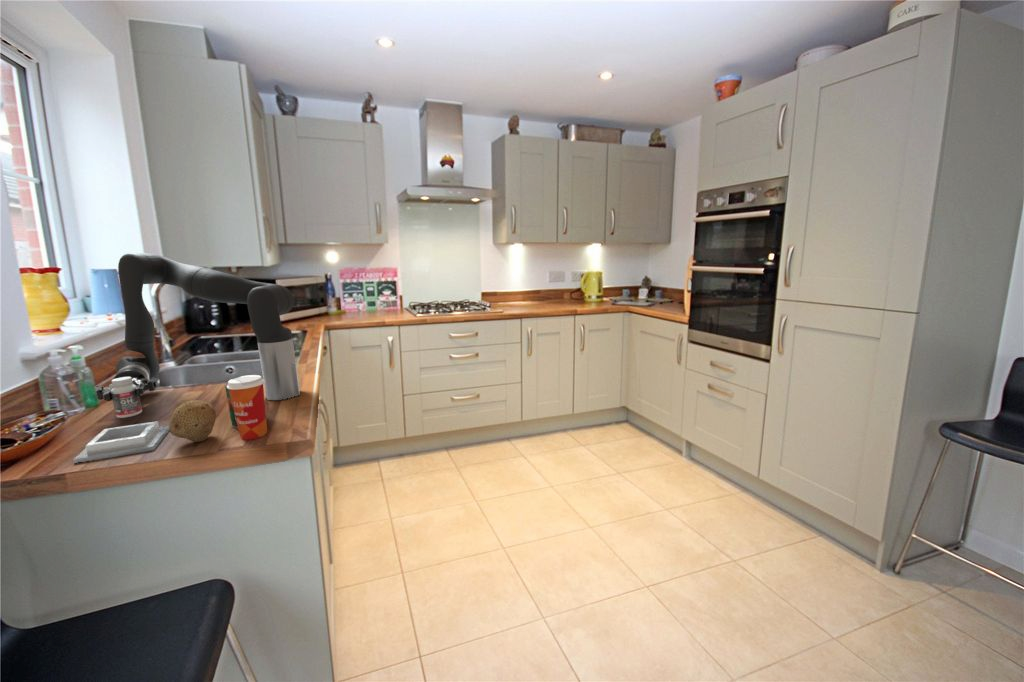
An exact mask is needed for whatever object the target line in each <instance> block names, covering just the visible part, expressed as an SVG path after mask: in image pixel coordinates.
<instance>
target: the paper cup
mask: <svg viewBox="0 0 1024 682" xmlns="http://www.w3.org/2000/svg"><path fill="white" fill-rule="evenodd" d="M227 382H228V386H227V388H228V389H229V392H230V397H231V401H232V405H233V409H234V413H235V417H236V422H237V426H238V428H237V429H238V433H239V436H240V439H241V440H244V441H245V440H246V441H249V440H256V439H260V438H262V437H264V436H266V435H267V434H266V433H268V428H267V427H268V425H267V419H266V418H267V415H266V414H267V413H266V404H265V403H266V402H265V388H264V380H263V376H262V375H258V374H249V375H241V376H239V377H235V378H231V379H229V380H228V381H227ZM265 434H266V435H265ZM263 435H264V436H263ZM261 436H262V437H261ZM259 437H260V438H259Z"/></svg>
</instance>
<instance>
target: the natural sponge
mask: <svg viewBox="0 0 1024 682" xmlns="http://www.w3.org/2000/svg"><path fill="white" fill-rule="evenodd" d="M216 416H217V415H216V410H215V408H214V407H213V405H211V404H210V403H208V402H206V401H204V400H199V399H198V400H197V399H196V400H187V401H185V402H183V403H182V404H180V405H178V406H177V407H176V408H175V410H174V411H173V413H172V415H171V417H170V420H169V424H168V425H169V432H170V434H171V435H172V436H173V437H176V438H181V439H185V440H189V441H190V442H195V443H200V442H203V441H205V440H206V439H207V438H208V437H209V436H211V434H212V431H213V429H214V427H215V422H216Z"/></svg>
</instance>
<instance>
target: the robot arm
mask: <svg viewBox="0 0 1024 682" xmlns="http://www.w3.org/2000/svg"><path fill="white" fill-rule="evenodd" d="M117 268H118V269H117V271H118V280H119V285H120V292H121V298H122V303H123V309H124V319H125V328H124V329H125V330H124V347H125V348H126V350H128V351H131V352H134V353H135V352H136V353H140V354H142V355H143V356H123V357H121V358H120V359H118V361H117V362H116V366H115V371H116V374H115V375H114V377H113V379H116V378H121V377H131V378H132V384H133V385H136V386H137V387H136V393H137V396H139V397H141V396H142V395H143V394H145V393H147V391H149V392H153V391H155V390H156V389H158V388H159V387H160V386H161V382H160V378H159V376H158V375H159V373H160V370H161V369H160V363H159V361H158V358H157V353H156V350H155V323H154V319H153V317H152V315H151V312H150V311H149V309H148V308H147V306H146V304H145V302H144V298H143V287H144V285H154V284H155V285H156V284H161V285H171V286H174V287H179V288H181V289H182V290H183V291H184V292H185V293H187V294H189V295H190V296H192V297H194V298H197V299H201V300H206V301H209V302H213V303H220V304H221V303H222V304H223V303H224V304H244V305H246V306H247V310H248V316H249V320H250V325H251V330H252V331H253V334H254V335H255V337H256V341H257V348H258V354H259V359H260V360H259V361H260V367H261V372H262V373H261V374H262V375H261V376H262V380H264V383H263V389H264V395H265V398H267V399H266V400H269V401H282V399H283V400H287V398H288V399H292V398H295V397H299V396H298V395H301V387H300V381H299V375H298V374H299V373H298V366H297V365H298V364H297V361H296V355H295V347H294V340H293V334H292V329H291V328H289V327H287V326H286V327H285V326H284V325H283V324H282V321H281V318H280V316H283V315H285V314H287V313H289V312H290V311H291V310H292V309H293V308H294V305H295V298H294V295H293V294H292V292H291V291H290V290H289V289H288V288H287V287H286V286H284V285H281V284H277V283H269V282H268V283H267V282H260V281H255V280H250V279H247V278H245V277H241V276H239V275H238V276H237V275H233V274H230V273H225V272H223V271H219V270H216V269H211V268H207V267H204V266H198V265H193V264H187V263H186V264H185V263H181V262H179V261H177V260H176V261H175V260H173V259H170V258H168V257H166V256H162V255H161V254H158V253H152V252H151V253H150V252H149V253H147V252H141V253H140V252H130V253H129V252H128V253H125V254H123V255H121V257H120V259H119V261H118V265H117ZM113 379H112V380H113ZM113 388H114V386H113V385H112V383H110V384H109V385H107V386H106V387H104V386H103V385H102V386H101V385H96V386H94V390H95V394H96V398H97V400H98V401H99V400H100V401H102V400H104V401H106V402H111V401H113V400H112V396H111V389H113ZM294 396H295V397H294ZM291 397H292V398H291Z"/></svg>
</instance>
